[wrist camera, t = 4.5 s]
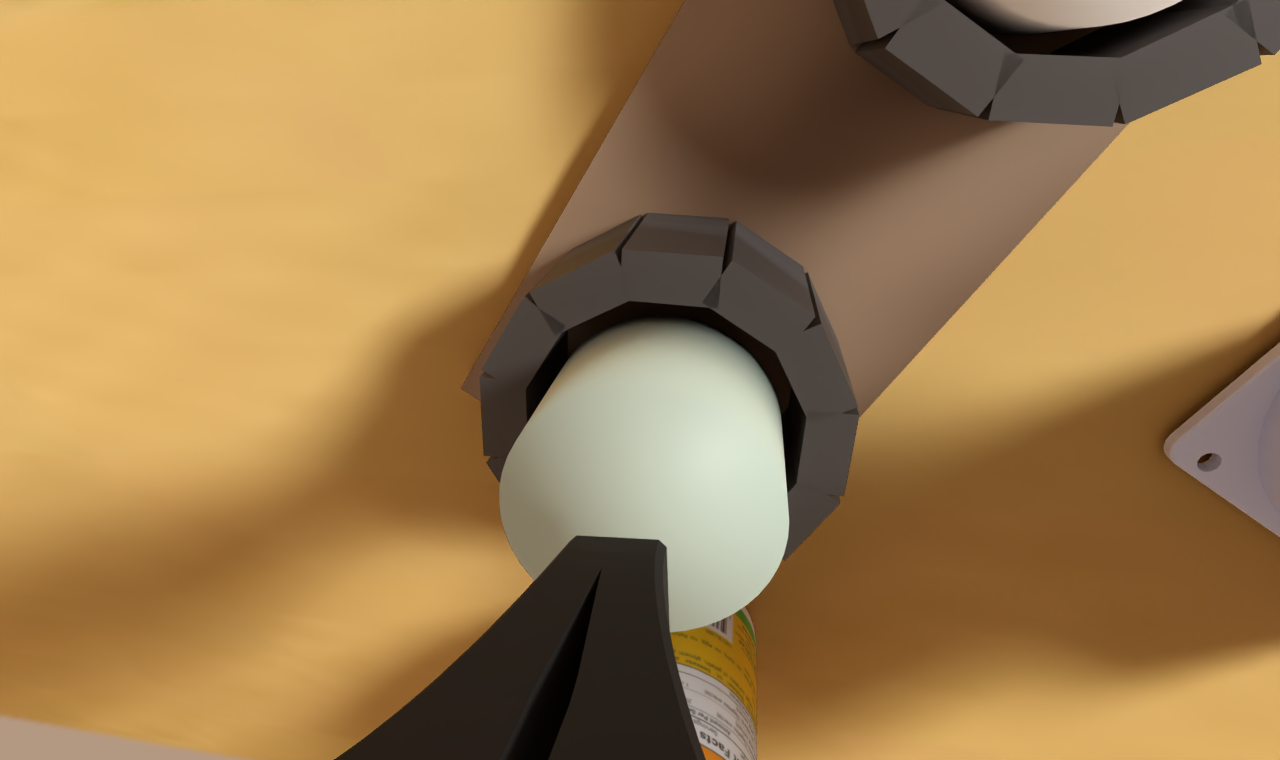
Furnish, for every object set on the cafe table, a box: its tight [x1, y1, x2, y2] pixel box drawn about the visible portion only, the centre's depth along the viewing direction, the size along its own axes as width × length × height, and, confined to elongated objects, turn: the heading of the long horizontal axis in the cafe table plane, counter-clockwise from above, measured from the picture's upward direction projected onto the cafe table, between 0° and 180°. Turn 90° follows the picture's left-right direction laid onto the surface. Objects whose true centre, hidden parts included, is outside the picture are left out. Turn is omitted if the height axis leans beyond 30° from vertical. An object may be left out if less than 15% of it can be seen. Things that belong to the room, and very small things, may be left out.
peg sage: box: [499, 315, 789, 632], centre depth 14 cm, size 5×5×4 cm
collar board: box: [461, 0, 1280, 561], centre depth 14 cm, size 9×20×4 cm, turn 147°
